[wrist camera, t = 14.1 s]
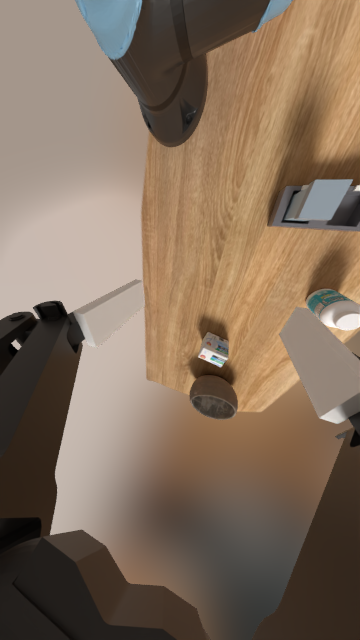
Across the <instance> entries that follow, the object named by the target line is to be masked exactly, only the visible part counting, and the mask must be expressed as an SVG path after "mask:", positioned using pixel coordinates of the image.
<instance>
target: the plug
mask: <svg viewBox="0 0 360 640" xmlns="http://www.w3.org/2000/svg"><path fill="white" fill-rule="evenodd" d="M352 181H353V179H346V180H314V181H313V182H311V183H310V184H309V186H308V187H307V188H306V189H304V190H302V191H300V192H298V193H297V194H295V195H293V196H291V199H290V201H289V204H288V206H287V209H286V211H285V214H284V216H283V219H282V221H294V222H301V221H309V220H323V221H325V220H331V219H332V217H333V215H334V213H335V211H336V210H337V208H338V206H339V204H340V203H341V201H342V199H343V197H344V195H345V194H346V192H347V190H348V188H349V187H350V185H351V183H352Z"/></svg>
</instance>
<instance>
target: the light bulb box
mask: <svg viewBox="0 0 360 640" xmlns="http://www.w3.org/2000/svg"><path fill="white" fill-rule="evenodd" d="M228 349H229V341H228V340H225V339H223V338H221V337H219V336H216V335H214V334H212V333H210V332H207V334H206V335H205V337H204V339H203V340H202V344H201V348H200V351H199V355H198V357H199V358H201V359H204V360H206V361H208V362H210V363H212V364H215V365H217V366H219V367H221V366H222V365H223V364H224V363H225V361H226V360H227V359H228Z"/></svg>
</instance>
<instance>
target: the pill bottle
mask: <svg viewBox="0 0 360 640" xmlns="http://www.w3.org/2000/svg"><path fill="white" fill-rule="evenodd" d="M306 306H307V307H308V308H309V309H310V310H311V311H312V312H313V313H314V314H315V315H316V316H317V317H318V318H319V319H320V320H321V321H322V322H323V323H324V324H325V325H327V326H330V327H335V328H339V329H341V330H353V329H356V328H358V327H360V305H359V304H357V303H356V302H354V301H352V300H350V299H349V298H347V297H345V296H343V295H342V294H340V293H338V292H336V291H335V290H332V289H320V290H317V291H315V292H313V293H312V294H310V295H309V296H308V298H307V300H306Z"/></svg>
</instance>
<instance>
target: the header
mask: <svg viewBox="0 0 360 640" xmlns="http://www.w3.org/2000/svg"><path fill="white" fill-rule="evenodd" d="M308 186H309V185H303V186H286V187H284V188H283V189H282V190H281V191H280V192H279V195H278V197H277V200H276V203H275V206H274V209H273V212H272V214H271V217H270V220H269V223H268V226H270V227H286V228H302V229H318V230H334V231H360V185H357V186H350V187H349V188H348V190H347V192H346V194H345V195H344V197H343V199H342V201H341V203H340V204H339V206H338V208H337V210H336V211H335V213H334V215H333V217H332V219H331V220H325V221H323V220H309V221H301V222H294V221H282V219H283V216H284V214H285V211H286V209H287V206H288V204H289V201H290V199H291V196H293V195H295V194H297V193H298V192H300V191H302V190H304V189H306V188H307V187H308Z"/></svg>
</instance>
